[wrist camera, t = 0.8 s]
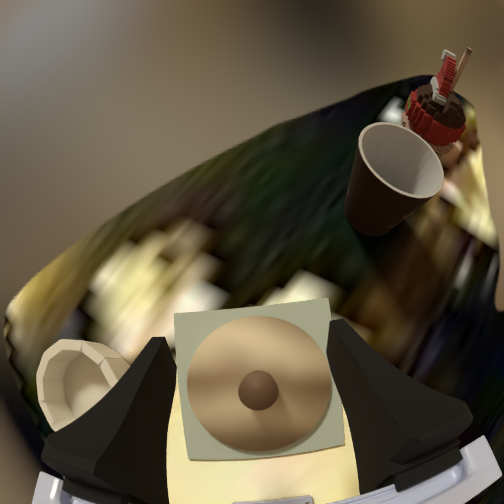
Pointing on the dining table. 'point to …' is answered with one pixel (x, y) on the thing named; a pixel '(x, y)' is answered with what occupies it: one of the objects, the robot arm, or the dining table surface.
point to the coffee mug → (390, 178)
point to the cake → (438, 107)
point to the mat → (204, 323)
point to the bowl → (76, 378)
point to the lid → (258, 383)
